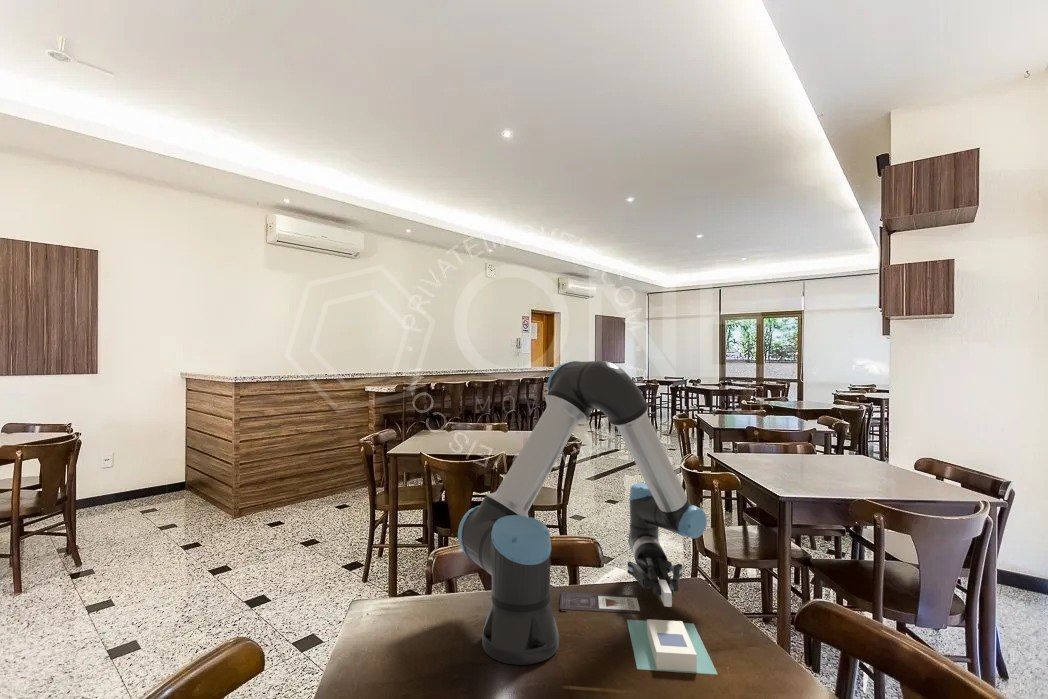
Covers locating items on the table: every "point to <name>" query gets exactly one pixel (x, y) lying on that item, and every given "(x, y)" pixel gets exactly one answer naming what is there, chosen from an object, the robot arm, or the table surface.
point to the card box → (671, 645)
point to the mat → (645, 653)
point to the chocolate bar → (599, 602)
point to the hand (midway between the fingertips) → (668, 599)
